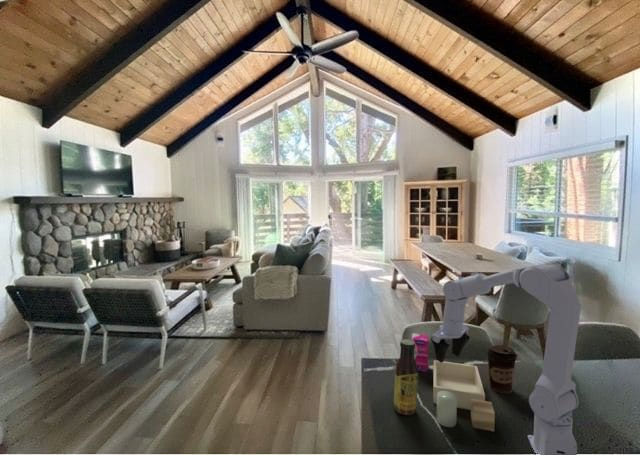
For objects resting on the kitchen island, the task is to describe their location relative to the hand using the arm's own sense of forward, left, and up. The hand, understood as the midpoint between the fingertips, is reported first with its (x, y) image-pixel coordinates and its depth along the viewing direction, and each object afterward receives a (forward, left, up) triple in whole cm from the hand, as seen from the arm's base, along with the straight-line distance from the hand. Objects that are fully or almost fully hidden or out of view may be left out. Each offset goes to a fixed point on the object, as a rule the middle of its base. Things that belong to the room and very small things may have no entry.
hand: (447, 357), depth 102 cm
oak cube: (-14, -8, -10) cm, 19 cm away
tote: (0, -3, -10) cm, 11 cm away
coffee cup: (+6, -16, -11) cm, 20 cm away
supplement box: (+12, +9, -11) cm, 18 cm away
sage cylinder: (-16, +1, -10) cm, 19 cm away
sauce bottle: (-15, +12, -11) cm, 22 cm away
